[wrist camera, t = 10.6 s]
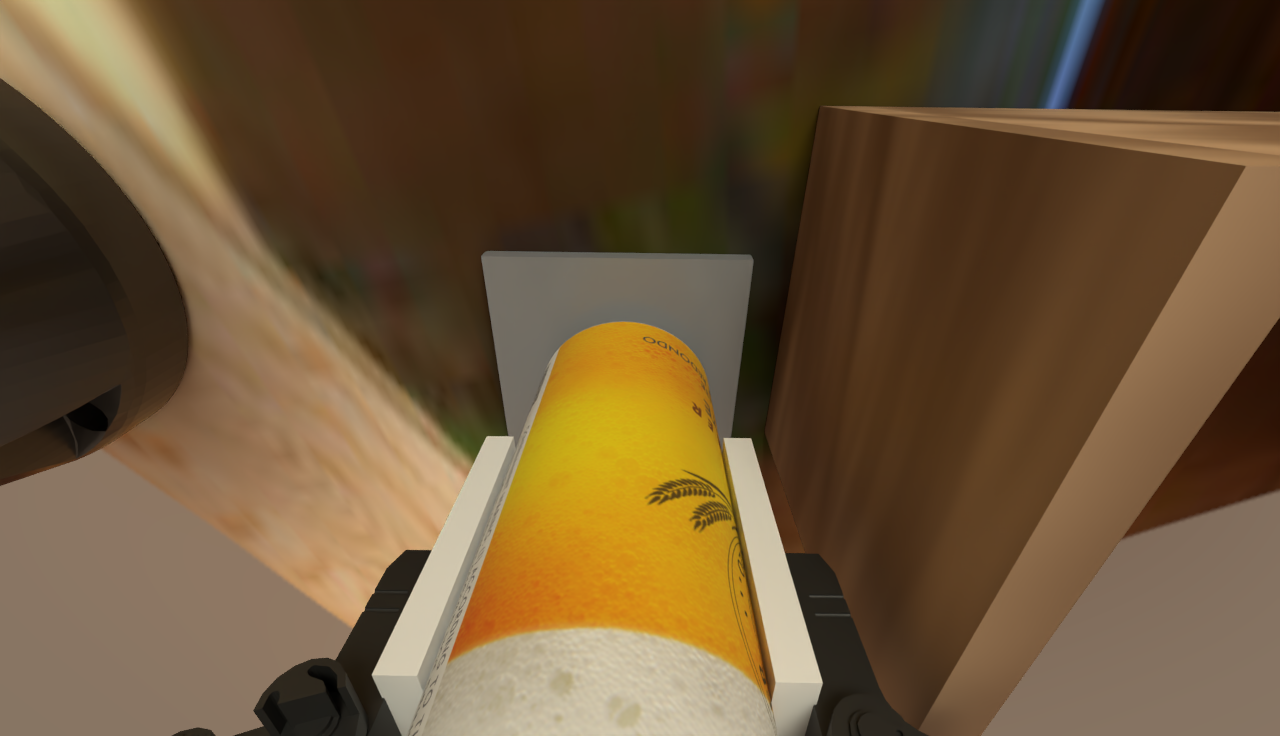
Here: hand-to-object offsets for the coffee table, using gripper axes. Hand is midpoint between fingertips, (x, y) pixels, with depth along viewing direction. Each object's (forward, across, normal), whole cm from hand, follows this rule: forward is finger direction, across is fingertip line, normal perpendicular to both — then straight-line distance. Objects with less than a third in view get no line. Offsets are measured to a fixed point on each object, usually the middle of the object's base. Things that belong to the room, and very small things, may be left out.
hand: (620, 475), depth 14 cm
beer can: (+5, 0, 0) cm, 5 cm away
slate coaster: (+6, 0, 0) cm, 6 cm away
